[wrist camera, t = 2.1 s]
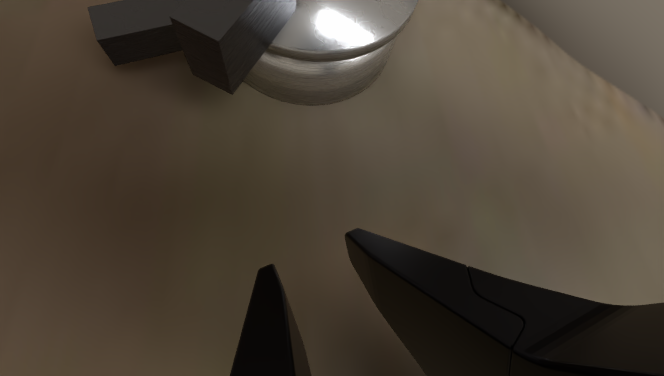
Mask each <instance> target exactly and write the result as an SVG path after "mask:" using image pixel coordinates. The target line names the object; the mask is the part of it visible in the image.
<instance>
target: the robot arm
mask: <svg viewBox="0 0 664 376" xmlns="http://www.w3.org/2000/svg"><path fill="white" fill-rule="evenodd" d="M345 241H346V245H347V250H348V254H349V258H350V261H351V263H352V265H353V267H354V268H355V270H356V272H357V274H358V275H359V277H360V279H361V281H362V282H363V284H364V286H365V288H366V289H367V291H368V293H369V295H370V296H371V298H372V300H373V302H374V303H375V305H376V307H377V308H378V310H379V311H380V313H381V314H382V315H383V317H384V318H385V319H386V321H387V322H388V323H389V325H390V326H391V327H392V329H393V330H394V332H395V333H396V334H397V336H398V337H399V338H400V340H401V341H402V342H403V344H404V345H405V346H406V348H407V349H408V350H409V352H410V353H411V355H412V356H413V357H414V359H415V360H416V361H417V363H418V364H419V365H420V367H421V368H422V369H423V371H424V372H425V373H426V375H427V376H664V303H656V304H648V305H637V306H623V305H612V304H605V303H600V302H595V301H591V300H587V299H583V298H579V297H575V296H571V295H567V294H564V293H560V292H556V291H552V290H548V289H544V288H540V287H536V286H533V285H529V284H525V283H522V282H518V281H514V280H511V279H507V278H504V277H501V276H497V275H494V274H491V273H488V272H485V271H482V270H479V269H476V268H473V267H470V266H468V267H467V266H466V265H464V264H461V263H458V262H455V261H453V260H450V259H447V258H444V257H441V256H438V255H435V254H432V253H429V252H426V251H423V250H421V249H418V248H415V247H412V246H409V245H406V244H403V243H400V242H397V241H394V240H391V239H389V238H386V237H383V236H380V235H377V234H374V233H371V232H368V231H365V230H362V229H359V228H357V229H354V230H352V231H349V232H347V233H346V234H345ZM230 376H311V372H310V367H309V363H308V359H307V355H306V351H305V347H304V344H303V340H302V337H301V335H300V332H299V329H298V326H297V324H296V321H295V318H294V315H293V313H292V310H291V307H290V305H289V302H288V299H287V296H286V294H285V291H284V288H283V286H282V283H281V280H280V278H279V275H278V273H277V270H276V268H275V265H274V264H270V265H267V266H265V267H262V268H260V269H259V270H258V273H257V277H256V281H255V284H254V288H253V292H252V295H251V299H250V303H249V306H248V310H247V314H246V318H245V321H244V325H243V329H242V332H241V336H240V340H239V344H238V347H237V351H236V355H235V358H234V362H233V366H232V370H231V373H230Z"/></svg>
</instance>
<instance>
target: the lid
mask: <svg viewBox="0 0 664 376" xmlns="http://www.w3.org/2000/svg"><path fill="white" fill-rule="evenodd" d="M417 2H418V0H185V1H184V2H183V3H182V4H181V5H180V6H179V7H178V8H177V9H176V10H175V11H174V12H173V13H172V14H171V15H170V16H169V17H170V20H171V22H172V24H173V27H174V29H175V32H176V34H177V37H178V39H179V42H180V44H181V47H182V49H183V52H184V54H185V57H186V59H187V62H188V64H189V66H190V69H191V71H192V74H193V75H194V76H196V77H198V78H200V79H202V80H204V81H206V82H208V83H210V84H212V85H214V86H216V87H218V88H220V89H222V90H224V91H226V92H228V93H230V94H232V95H233V93H234V92H235V91H236V89H237V88H238V87H239V85H240V84H241V83H242V81H243V80H244V79H245V77H246V76H247V75H248V73H249V72H250V71H251V69H252V68H253V67H254V65H255V64H256V63H257V61H258V60H259V59H260V57H261V56H262V55H263V53H264V52H265V51H267V52H269V53H272V54H276V55H279V56H282V57H286V58H291V59H296V60H301V61H312V62H334V61H341V60H348V59H352V58H356V57H360V56H363V55H366V54H368V53H371V52H374V51H376V50H377V49H379V48H381V47H383V46H385V45H386V44H388V43H389V42H390V41H391V40H393V39H394V38H395V37H396V36H397V35H398V34H399V33H400V32H401V31H402V30H403V29H404V27H405V26H406V24H407V23H408V21H409V20H410V18H411V15H412V13H413V11H414V9H415V6H416V4H417Z"/></svg>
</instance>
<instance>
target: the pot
mask: <svg viewBox="0 0 664 376" xmlns="http://www.w3.org/2000/svg"><path fill="white" fill-rule="evenodd" d="M184 1H185V0H123V1H118V2H112V3H107V4H102V5H97V6H91V7H88V10H89V14H90V18H91V21H92V25H93V28H94V32H95V35H96V39H97V41H98V43H99V44H100V45H101V47H102V48H103V50H104V51H105V52H106V54H107V55H108V57H109V58H110V59H111V61H112V62H113V64H114V65H115V66H117V65H121V64H125V63H130V62H134V61H138V60H142V59H147V58H151V57H155V56H160V55H164V54H168V53H172V52H177V51H181V50H183V49H182V47H181V44H180V42H179V39H178V37H177V34H176V32H175V29H174V27H173V24H172V22H171V20H170V17H169V16H170V15H171V14H172V13H173V12H174V11H175V10H176V9H177V8H178V7H179V6H180V5H181V4H182V3H183V2H184ZM396 37H397V36H396ZM396 37H395V38H394V39H393V40H391V41H390V42H389V43H388V44H386V45H385V46H383V47H381V48H379V49H377V50H376V51H374V52H371V53H368V54H366V55H363V56H360V57H356V58H352V59H348V60H341V61H334V62H312V61H301V60H296V59H291V58H286V57H282V56H279V55H276V54H272V53H269V52H267V51H265V52H264V53H263V55H262V56H261V57H260V59H259V60H258V61H257V63H256V64H255V65H254V67H253V68H252V69H251V71H250V72H249V73H248V75H247V76H246V77H245V79H244V81H245V82H246V83H248V84H249V85H250V86H252V87H253V88H255V89H256V90H258V91H259V92H261V93H263V94H265V95H268V96H270V97H272V98H275V99H278V100H281V101H284V102H288V103H293V104H300V105H325V104H332V103H336V102H340V101H343V100H346V99H349V98H351V97H353V96H355V95H357V94H359V93H361V92H362V91H364V90H365V89H366V88H368V87H369V86H370V85H371V84H372V83H373V82H374V81H375V80H376V79H377V78H378V76H379V75H380V73H381V72H382V70H383V68H384V66H385V64H386V62H387V59H388V57H389V54H390V52H391V49H392V47H393V45H394V42H395V40H396Z"/></svg>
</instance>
